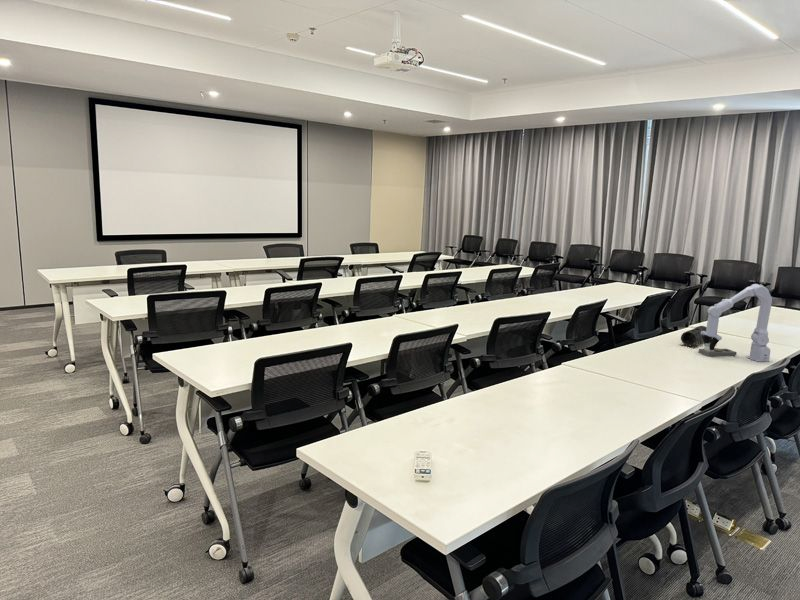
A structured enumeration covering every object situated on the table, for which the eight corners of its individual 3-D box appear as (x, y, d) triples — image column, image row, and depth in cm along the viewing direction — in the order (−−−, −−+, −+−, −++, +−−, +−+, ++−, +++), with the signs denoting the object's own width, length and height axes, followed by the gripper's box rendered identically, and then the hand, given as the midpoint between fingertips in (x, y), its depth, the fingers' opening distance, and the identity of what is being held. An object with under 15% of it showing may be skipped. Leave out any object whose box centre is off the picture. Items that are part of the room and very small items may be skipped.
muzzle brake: (679, 345, 341) (681, 329, 339) (694, 339, 360) (696, 324, 358) (695, 348, 334) (697, 332, 332) (709, 342, 353) (712, 326, 351)
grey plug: (713, 354, 319) (714, 344, 318) (708, 354, 318) (709, 344, 317) (708, 352, 323) (710, 343, 322) (703, 352, 322) (704, 343, 321)
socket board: (736, 356, 320) (736, 350, 319) (708, 356, 316) (708, 351, 316) (725, 352, 327) (726, 347, 327) (698, 352, 324) (699, 347, 323)
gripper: (697, 323, 324) (694, 345, 326) (715, 329, 310) (712, 352, 312) (707, 323, 325) (704, 345, 328) (726, 329, 311) (722, 352, 314)
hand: (709, 348), depth 320 cm, fingers closed on grey plug, 4 cm apart
